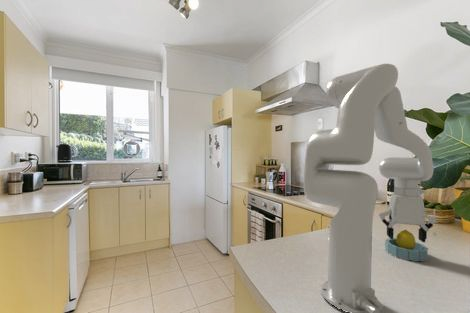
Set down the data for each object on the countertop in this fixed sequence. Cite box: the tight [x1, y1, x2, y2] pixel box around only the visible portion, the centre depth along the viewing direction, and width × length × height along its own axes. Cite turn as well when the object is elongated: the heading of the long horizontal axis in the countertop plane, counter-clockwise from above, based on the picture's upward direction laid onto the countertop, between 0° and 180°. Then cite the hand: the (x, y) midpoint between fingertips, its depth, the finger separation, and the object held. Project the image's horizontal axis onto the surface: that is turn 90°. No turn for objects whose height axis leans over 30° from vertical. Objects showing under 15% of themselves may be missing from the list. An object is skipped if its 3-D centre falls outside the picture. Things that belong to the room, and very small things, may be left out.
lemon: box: [395, 229, 416, 250], centre depth 81 cm, size 6×6×8 cm
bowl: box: [384, 237, 429, 262], centre depth 81 cm, size 12×12×4 cm
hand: (405, 239), depth 81 cm, fingers open, 9 cm apart
